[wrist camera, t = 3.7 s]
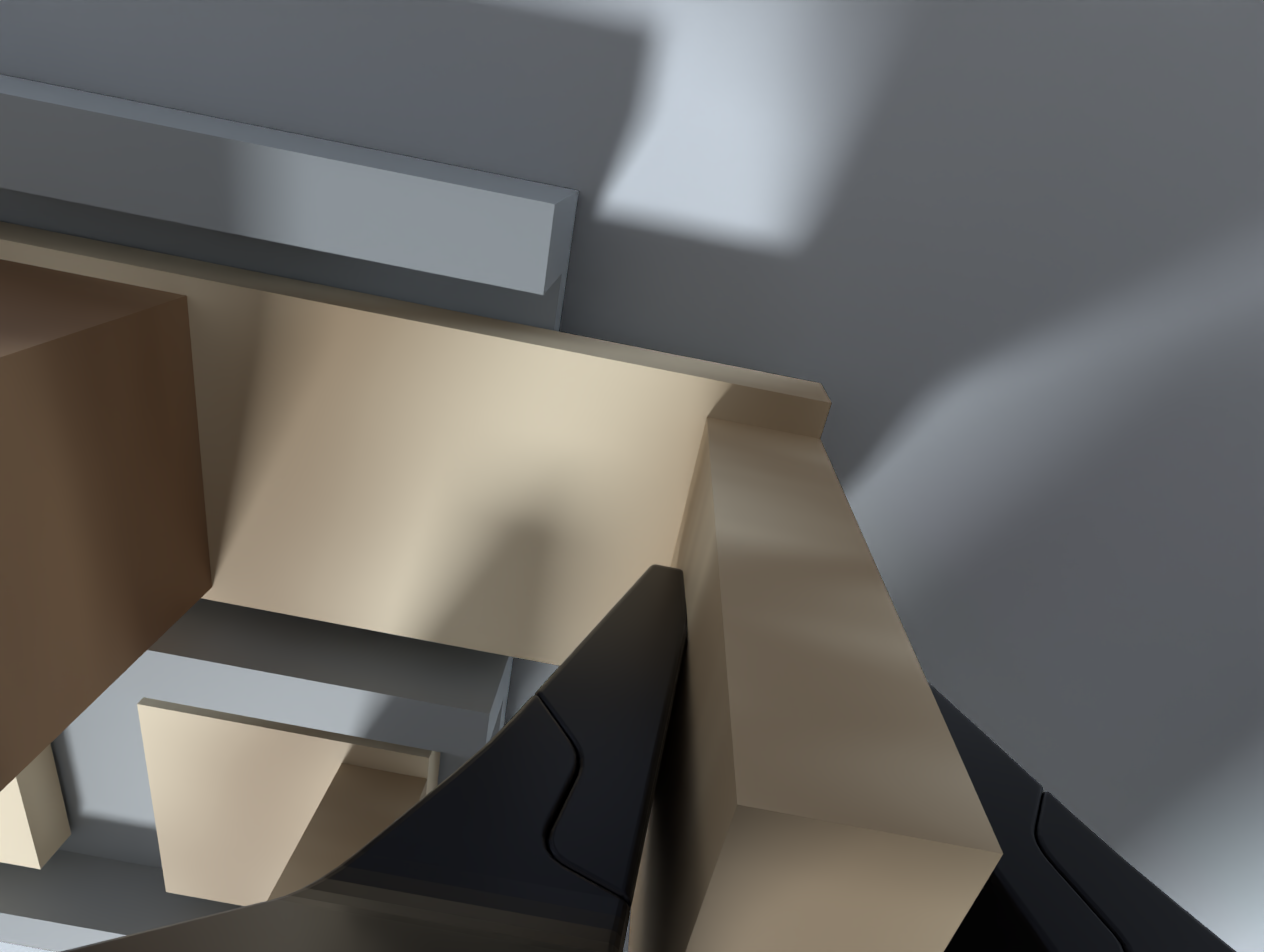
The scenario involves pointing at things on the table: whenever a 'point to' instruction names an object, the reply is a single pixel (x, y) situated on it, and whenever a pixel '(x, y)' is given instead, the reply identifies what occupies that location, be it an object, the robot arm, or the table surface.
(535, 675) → the table surface
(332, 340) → the tan piece
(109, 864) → the lane board
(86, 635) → the cube
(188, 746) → the strip broken
